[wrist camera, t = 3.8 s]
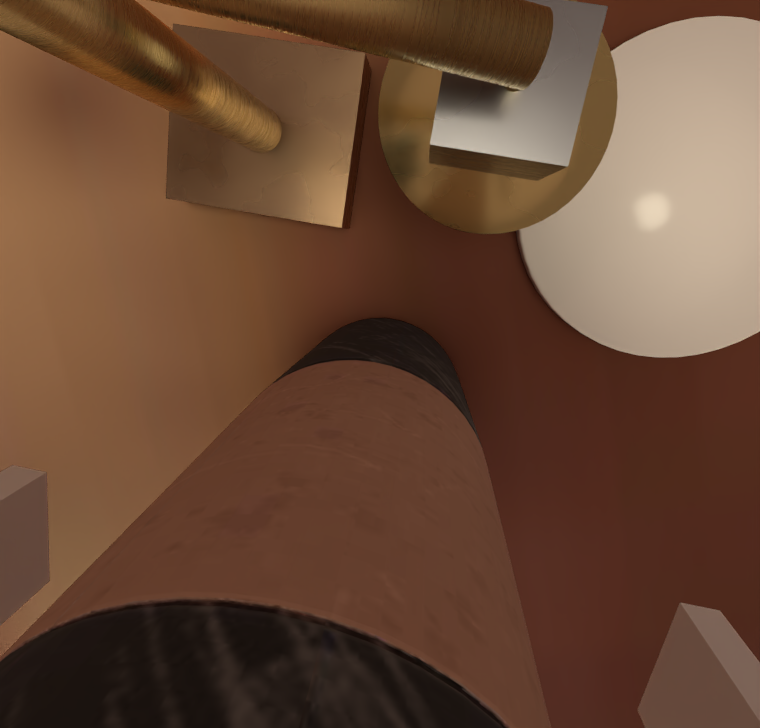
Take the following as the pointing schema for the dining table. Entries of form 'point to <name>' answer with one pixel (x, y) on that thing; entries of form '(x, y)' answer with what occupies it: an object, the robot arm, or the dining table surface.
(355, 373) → the travel mug
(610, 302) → the cream round disc
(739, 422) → the dining table surface
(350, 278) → the dining table surface
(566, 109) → the balance
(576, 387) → the dining table surface
